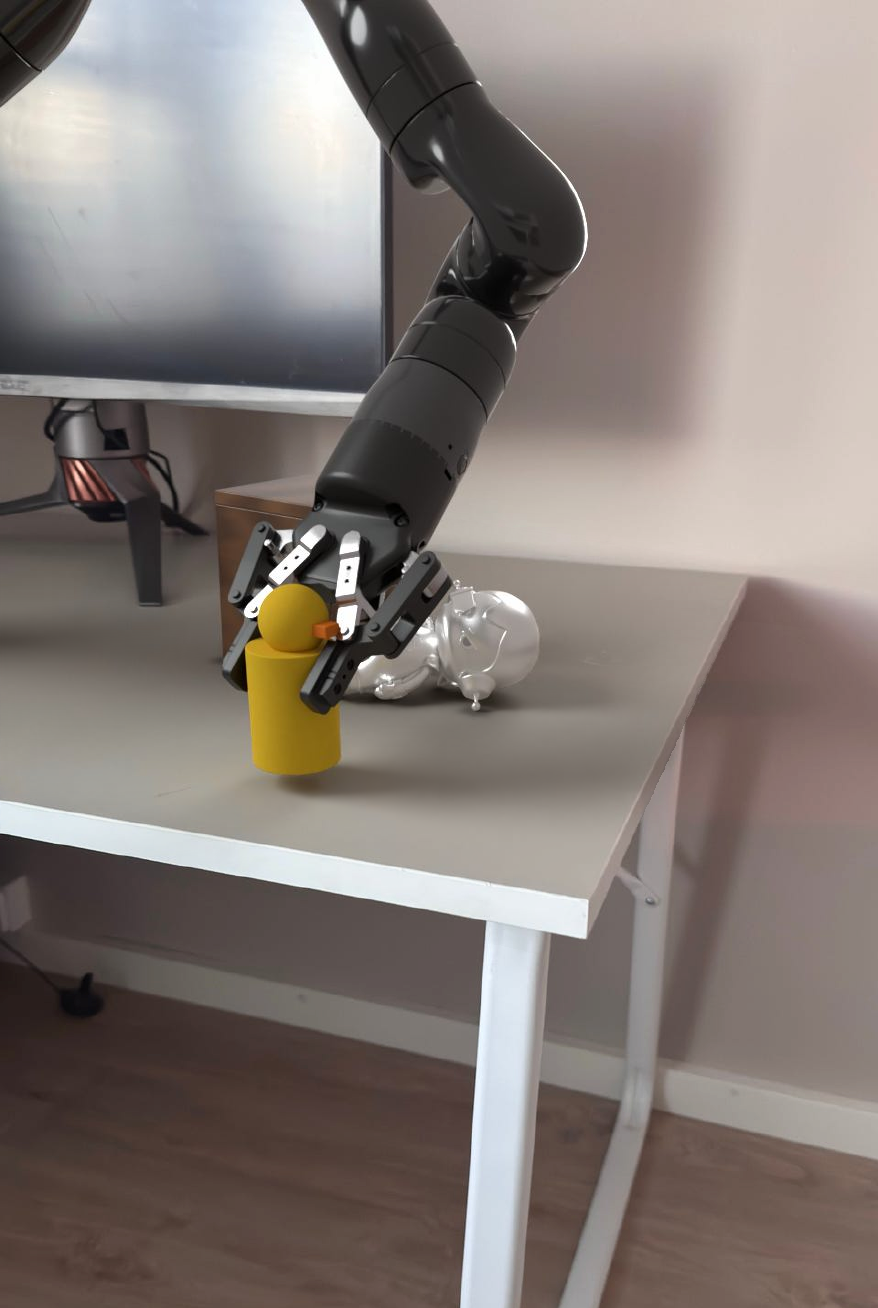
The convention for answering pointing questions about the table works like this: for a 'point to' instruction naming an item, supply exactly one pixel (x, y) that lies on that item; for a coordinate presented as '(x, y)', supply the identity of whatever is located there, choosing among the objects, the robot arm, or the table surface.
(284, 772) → the duck
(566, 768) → the table surface
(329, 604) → the wooden box
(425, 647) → the figurine
